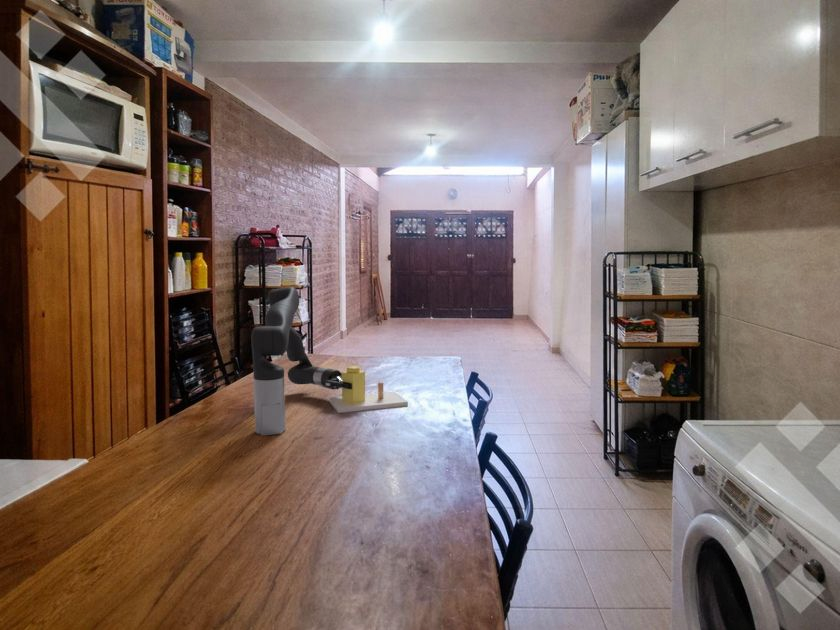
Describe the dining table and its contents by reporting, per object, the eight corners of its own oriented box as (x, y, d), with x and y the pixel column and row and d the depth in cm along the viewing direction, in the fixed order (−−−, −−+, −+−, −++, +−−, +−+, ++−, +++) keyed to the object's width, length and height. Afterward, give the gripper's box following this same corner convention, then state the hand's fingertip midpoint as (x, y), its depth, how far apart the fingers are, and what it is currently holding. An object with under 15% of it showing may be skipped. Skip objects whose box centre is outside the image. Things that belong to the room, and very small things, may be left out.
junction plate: (407, 405, 194) (407, 385, 193) (338, 412, 185) (337, 392, 184) (394, 395, 209) (394, 376, 208) (329, 401, 200) (329, 382, 199)
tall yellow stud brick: (365, 400, 195) (364, 367, 194) (353, 404, 190) (353, 370, 189) (353, 397, 199) (353, 365, 198) (342, 401, 194) (341, 367, 193)
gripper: (312, 371, 197) (343, 378, 186) (341, 365, 208) (371, 371, 198) (313, 391, 198) (343, 398, 187) (341, 384, 209) (372, 391, 198)
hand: (358, 384), depth 192 cm, fingers closed on tall yellow stud brick, 6 cm apart
